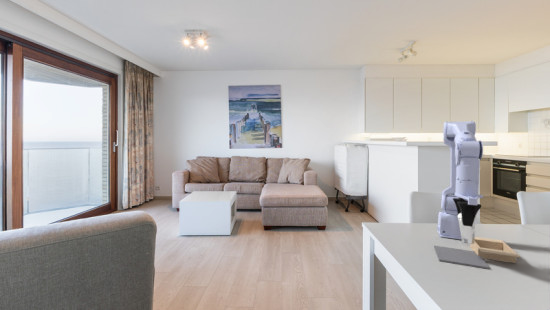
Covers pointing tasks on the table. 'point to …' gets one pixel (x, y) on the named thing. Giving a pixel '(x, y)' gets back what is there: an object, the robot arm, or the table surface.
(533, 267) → the table surface
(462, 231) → the milkshake
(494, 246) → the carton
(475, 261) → the mat
